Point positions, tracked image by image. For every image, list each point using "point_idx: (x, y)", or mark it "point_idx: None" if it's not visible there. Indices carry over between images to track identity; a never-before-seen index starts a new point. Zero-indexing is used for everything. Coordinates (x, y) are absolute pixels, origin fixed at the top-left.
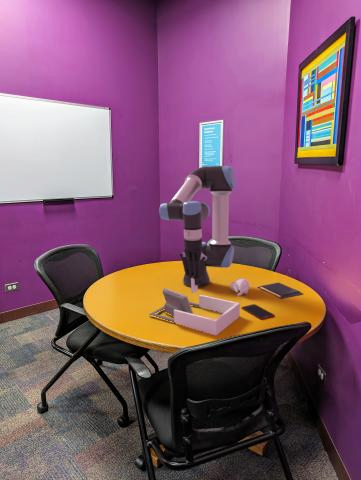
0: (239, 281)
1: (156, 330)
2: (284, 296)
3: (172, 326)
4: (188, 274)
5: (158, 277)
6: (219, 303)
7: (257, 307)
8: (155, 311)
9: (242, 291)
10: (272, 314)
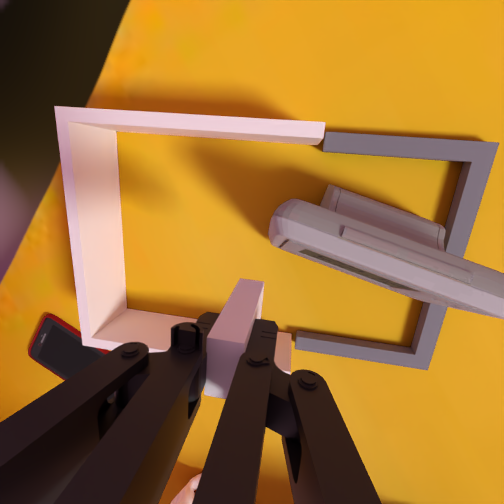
0: None
1: (368, 12)
2: None
3: (312, 101)
4: (285, 387)
5: None
6: None
7: None
8: (477, 190)
9: (183, 489)
10: (36, 358)
